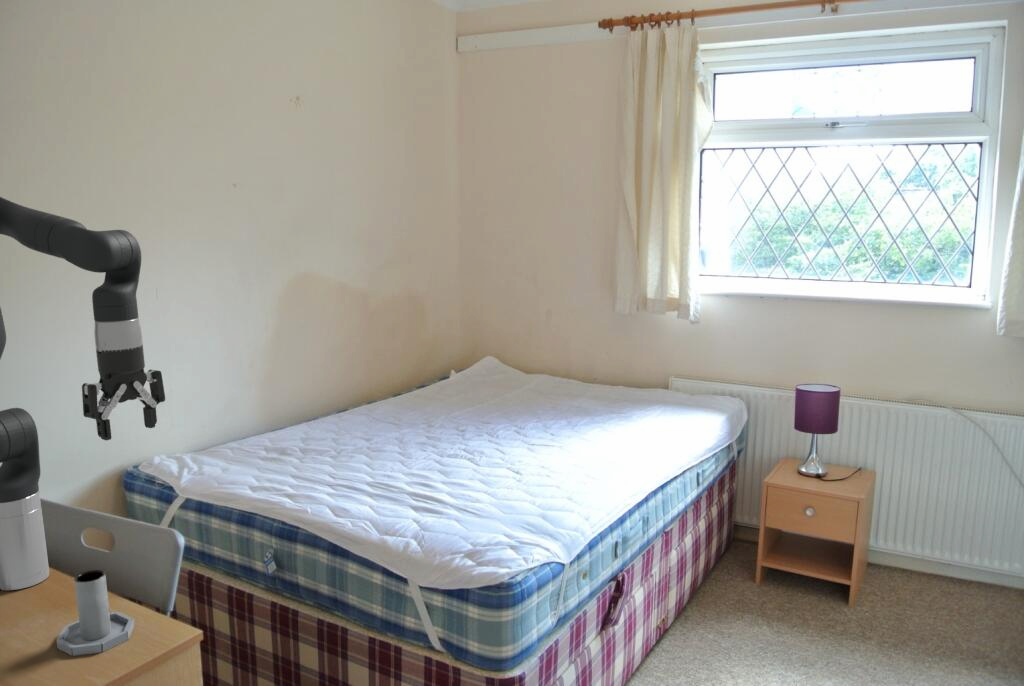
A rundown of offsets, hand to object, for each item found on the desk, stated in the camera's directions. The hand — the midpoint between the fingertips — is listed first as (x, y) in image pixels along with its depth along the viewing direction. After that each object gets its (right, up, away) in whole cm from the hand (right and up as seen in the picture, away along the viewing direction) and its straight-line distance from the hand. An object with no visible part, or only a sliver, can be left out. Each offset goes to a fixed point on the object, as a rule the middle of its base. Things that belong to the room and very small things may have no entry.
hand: (128, 433), depth 149 cm
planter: (0, -32, -11) cm, 34 cm away
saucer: (0, -33, -11) cm, 34 cm away
